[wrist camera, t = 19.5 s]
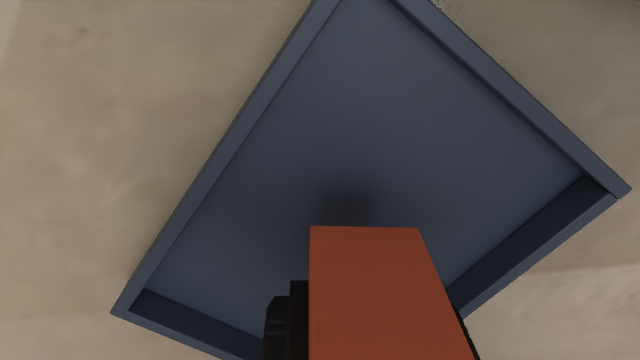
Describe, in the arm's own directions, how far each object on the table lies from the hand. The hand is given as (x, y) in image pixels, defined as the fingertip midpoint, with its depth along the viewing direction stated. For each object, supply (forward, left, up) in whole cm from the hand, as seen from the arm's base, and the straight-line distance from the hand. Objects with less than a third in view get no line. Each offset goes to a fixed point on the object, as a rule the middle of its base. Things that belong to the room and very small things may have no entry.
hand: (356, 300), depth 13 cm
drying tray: (0, 0, -4) cm, 4 cm away
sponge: (0, 0, 0) cm, 0 cm away
